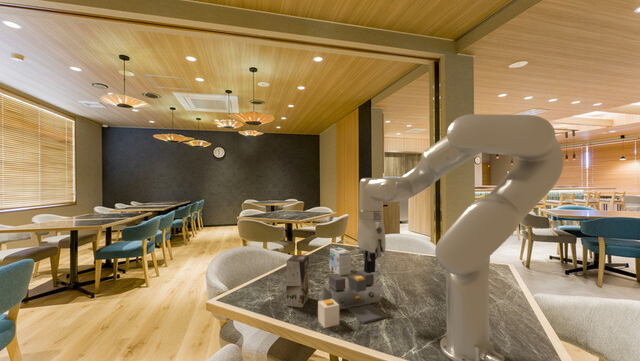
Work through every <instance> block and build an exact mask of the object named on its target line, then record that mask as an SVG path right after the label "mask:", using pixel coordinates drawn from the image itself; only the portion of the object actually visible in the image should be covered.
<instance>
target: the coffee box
mask: <svg viewBox="0 0 640 361" xmlns="http://www.w3.org/2000/svg"><path fill="white" fill-rule="evenodd" d="M309 259H310V255H307V254H293V255H292V256H290V257H289V258H288V259H286V266H285V267H286V269H285V270H286V276H285V277H286V281H285V282H286V283H285V286H286V291H285V294H286V297H285V299H286V300H285V305H286V306H287V307H295V308H303V307H304V306H305V304H306V302H307V301H308V299H309V296H310V292H309V291H310V289H309V288H310V285H309V283H310V282H309V281H310V280H309V278H310V277H309V275H310V274H309V271H310V270H309V269H310V268H309V263H310V261H309Z"/></svg>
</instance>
